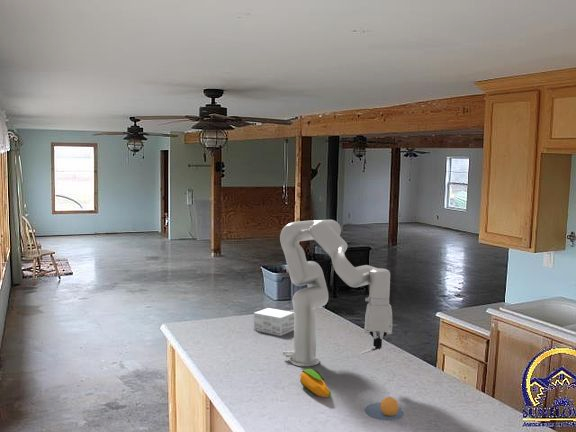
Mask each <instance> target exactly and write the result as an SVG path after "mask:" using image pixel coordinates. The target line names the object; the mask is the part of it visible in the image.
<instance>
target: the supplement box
mask: <svg viewBox="0 0 576 432" xmlns="http://www.w3.org/2000/svg"><path fill="white" fill-rule="evenodd" d="M253 330H254V331H256V330H257V332H261V331H262V333H265V332H266V333H265V334H270V333H271V334H270V335H274V336H284V335H286V334H289V333H290V332H294V311H288V310H282V309H279V308H278V309H276V308H271V307H266V308H264V309H261V310H258V311H255V312H253Z"/></svg>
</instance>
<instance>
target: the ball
mask: <svg viewBox="0 0 576 432" xmlns="http://www.w3.org/2000/svg"><path fill="white" fill-rule="evenodd" d="M380 403H381V405H380V407H381V411H382V412H383V413H384V414H385V415H387V416H393V415H395V414H396V413H397V412H398V408H400V407H399V403H398V401H397V400H396V399H395V398H393V397H389V396H387V397H384V398H382V400H381V402H380Z"/></svg>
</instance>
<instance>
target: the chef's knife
mask: <svg viewBox="0 0 576 432" xmlns="http://www.w3.org/2000/svg"><path fill="white" fill-rule="evenodd" d="M381 348H382V347H380V349H381ZM374 350H376V349H375V347H374V348H367V349H365V350H363V351H360V352H359V353H358V355H364V354H366V353H369V352H372V351H374Z"/></svg>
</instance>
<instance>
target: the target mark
mask: <svg viewBox="0 0 576 432" xmlns="http://www.w3.org/2000/svg"><path fill="white" fill-rule="evenodd" d="M380 405H381V402H373V403H369V404H367V405H366V406H365V407H364V412H365V413H366V414H367V415H368V416H370V417H371V418H373V419H377V420H381V421H395V420H398V419H401V418H402V417H404V411H403V409H402V408H401V407H399V408H398V412H397V413H396V414H395V415H393V416H387V415H385V414H384V413H383V412H382V411H381V407H380Z"/></svg>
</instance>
